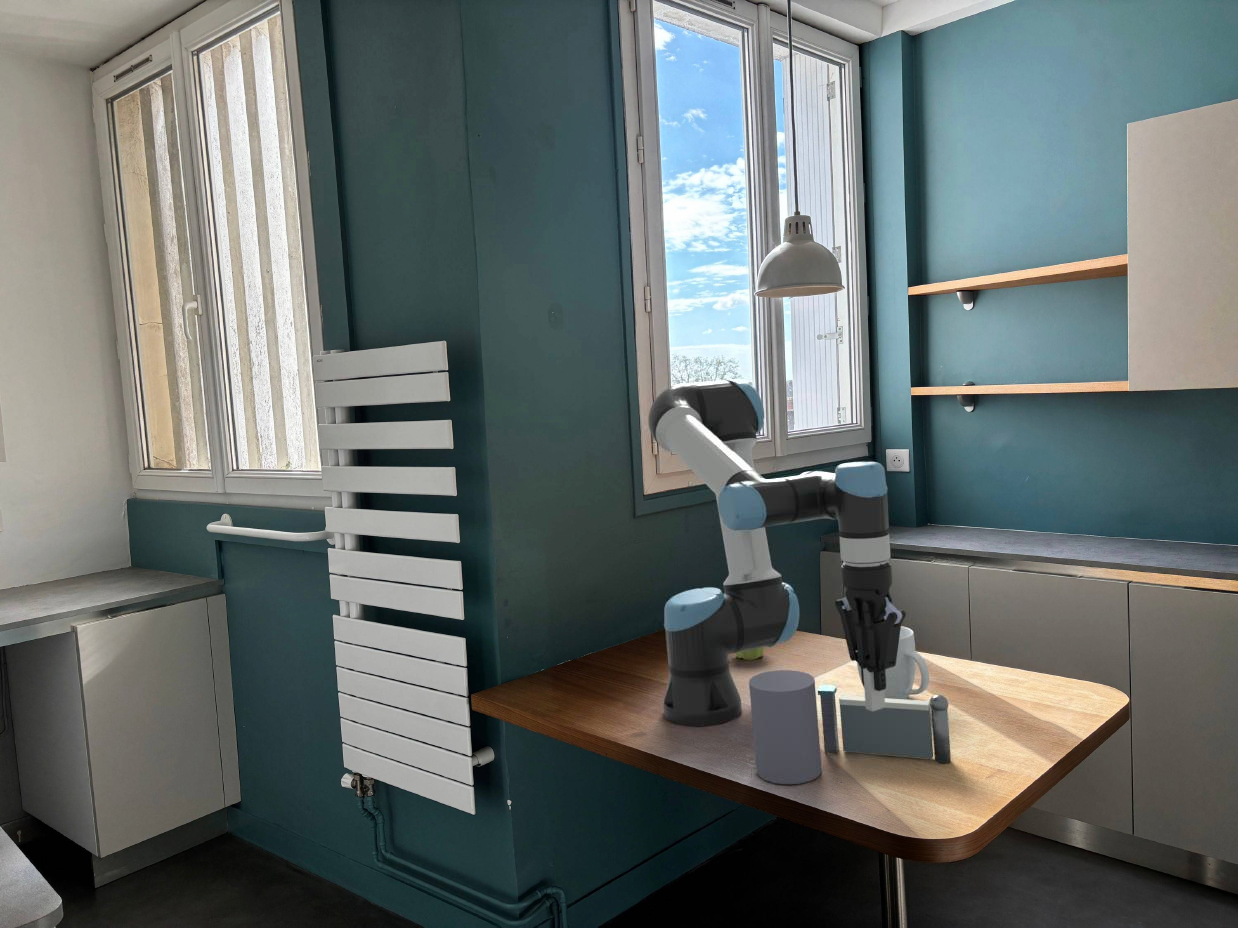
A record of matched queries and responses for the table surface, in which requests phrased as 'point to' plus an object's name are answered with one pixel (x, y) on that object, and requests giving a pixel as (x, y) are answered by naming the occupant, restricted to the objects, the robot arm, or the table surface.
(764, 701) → the container
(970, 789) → the table surface
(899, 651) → the mug
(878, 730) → the grey flat board
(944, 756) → the hinge post
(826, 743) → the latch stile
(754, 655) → the plant pot
